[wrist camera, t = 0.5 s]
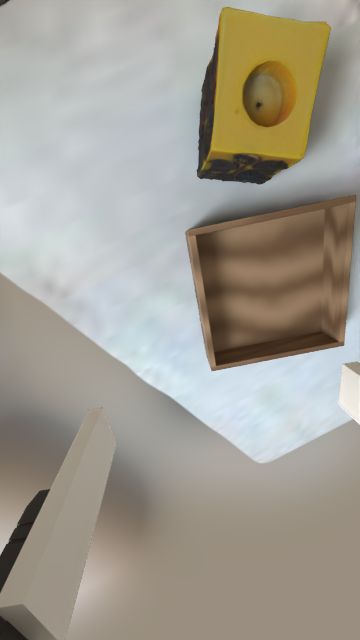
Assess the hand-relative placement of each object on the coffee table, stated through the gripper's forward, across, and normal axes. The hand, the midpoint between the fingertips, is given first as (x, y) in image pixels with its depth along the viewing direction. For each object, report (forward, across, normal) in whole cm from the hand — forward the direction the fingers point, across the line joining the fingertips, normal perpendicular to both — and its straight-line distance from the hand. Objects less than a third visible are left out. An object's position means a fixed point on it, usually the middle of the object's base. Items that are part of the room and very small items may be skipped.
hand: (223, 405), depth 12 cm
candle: (+26, +10, +20) cm, 34 cm away
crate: (+26, +12, -1) cm, 28 cm away
